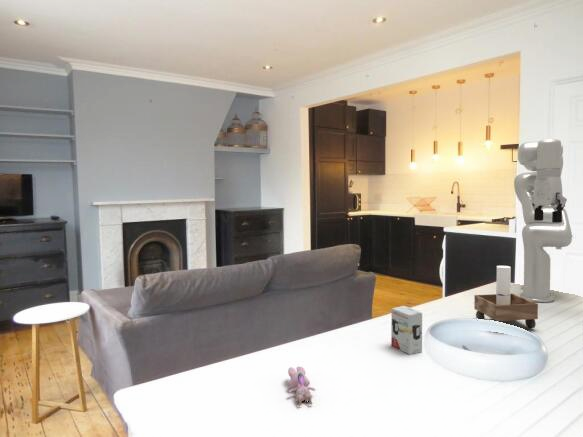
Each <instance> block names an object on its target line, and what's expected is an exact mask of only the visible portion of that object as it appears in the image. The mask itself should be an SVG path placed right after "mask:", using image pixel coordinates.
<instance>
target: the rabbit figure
mask: <svg viewBox="0 0 583 437" xmlns="http://www.w3.org/2000/svg"><path fill="white" fill-rule="evenodd" d="M287 370H288V372H287V373H288V375H289V378H290V380H289V382H288V386H289V388H290V390H288V393H289V394H291V393H293V392H296V393H295V401H296V402H297V403H298V402H299V403H298V404H297V405H299V406H303V404H302V403H303V402H306V401H310V402H308V405H312V404H313V402H312V394H311V391H316V389H315V388H314V387H310V384H311V381H310V380H309V379H308V378H307V376H306V370H305V368H304V367H303V366H297V367H296V369H295V368H294V367H289V368H288V369H287ZM310 390H311V391H310ZM304 400H305V401H304ZM302 401H303V402H302ZM301 402H302V403H301Z"/></svg>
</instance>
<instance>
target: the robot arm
mask: <svg viewBox="0 0 583 437" xmlns="http://www.w3.org/2000/svg"><path fill="white" fill-rule="evenodd" d="M563 154H564V146H563V145H562V141H561V140H560V139H554V138H550V139H549V138H548V139H543V140H538V141H528V142H527V141H526V142H523V143H521V144H520V146H519V147H518V150H517V160H518V162H519V164H520V165H522V166H523V167H524V168H525V169H526V170H527V171H529V172H522V173H519V174H517V175H516V176H515V177H514V180H513V188H514V191H515V196H516V197H517V200H518V201H519V202H520V204H521V210H522V215H523V217H522V218H523V222H524V223H525V225H524V226H523V227H522V231H521V237H522V243H523V244H522V245H523V286H522V285H521V286H520V288H519V289H520V290H521V291H522V292H521V293H519V295H518V296H520V297H522V298H524V299H527V300H529V301H532V302H534V303H552V302H554V301H555V297H554V296H553V295H551V257H550V255H549V253H548V252H547V251H546V250H545V249H544V248H547V247H549V248H565V247H568V246H570V245H571V243H572V241H573V234H572V229H571V224H570V220H569V216H568V213H567V210H566V209H565V207H566V204H567V198H566V197H565V196H563V184H562V178H561V176H562V174H563V172H562V171H563V167H564V156H563Z"/></svg>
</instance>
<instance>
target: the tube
mask: <svg viewBox="0 0 583 437" xmlns="http://www.w3.org/2000/svg"><path fill="white" fill-rule="evenodd" d="M511 268H512V267H511V266H509V265H496V305H510V294H511V287H512V286H511V282H512V281H511V280H512V279H511V278H512V277H511V276H512V275H511V274H512V273H511V271H512V269H511Z"/></svg>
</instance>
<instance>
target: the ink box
mask: <svg viewBox="0 0 583 437" xmlns="http://www.w3.org/2000/svg"><path fill="white" fill-rule="evenodd" d="M390 323H391V324H390V325H391V330H390V331H391V333H390V334H391V335H390V336H391V337H390V339H391V342H390V343H391V346H392V345H393V346H392V347H394V348H395V347H396V349H397V348H398V349H397V350H399V349H400V351H401V350H402V351H401V352H403V351H404V352H403V353H405V352H406V353H405V354H407V353H408V354H407V355H409V354H410V355H414V354H413V353H415V354H419V353H418V352H420V353H422V352H423V312H422V311H419V310H417V309H414V308H411V307H410V306H409V307H408V306H406V305H401V306H396V307H392V308H391V322H390Z"/></svg>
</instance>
